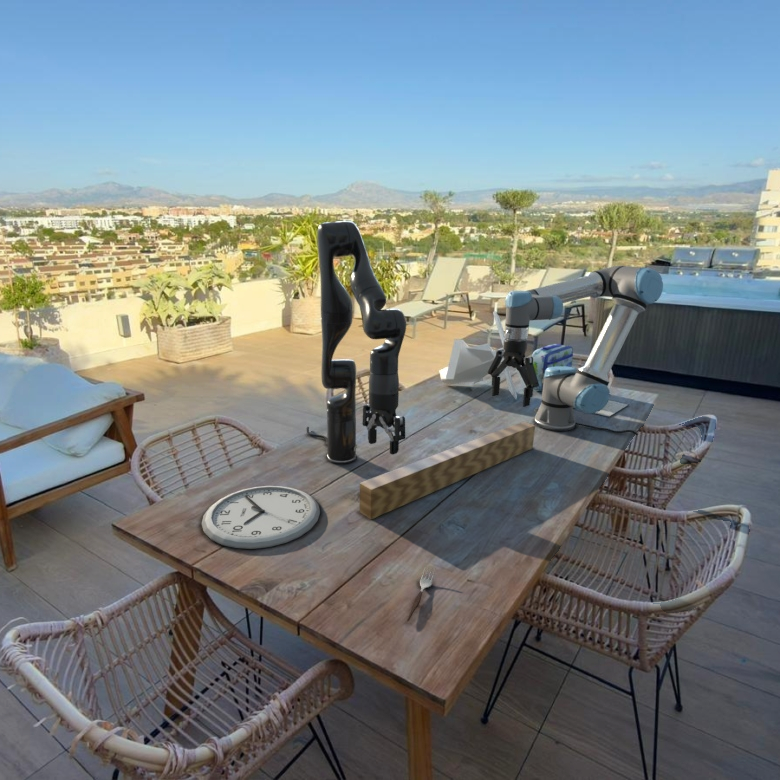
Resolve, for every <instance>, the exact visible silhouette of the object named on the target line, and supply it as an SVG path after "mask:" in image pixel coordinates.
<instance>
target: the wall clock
mask: <svg viewBox="0 0 780 780" xmlns="http://www.w3.org/2000/svg"><path fill="white" fill-rule="evenodd" d="M320 514H321V510H320V504H319V503H318V502H317V500H316V499H315V498H314V497H313V496H311V495H310V494H308V493H306V492H305V491H303V490H300V489H296V488H294V487H289V486H283V485H282V486H281V485H263V486H254V487H249V488H243V489H240V490H238V491H234V492H232V493H229V494H228V495H226V496H223V497H222V498H220V499H219V500H217V501H216V502H214V503H213V504H212V505H210V506H209V508H208V509H207V510H206V511H205V513H204V514H203V516H202V520H201V527H202V530H203V533H204V534H205V536H207V537H208V538H209V539H210V540H211V541H212V542H215V543H217V544H219V545H221V546H225V547H229V548H235V549H249V550H250V549H251V550H252V549H253V550H254V549H264V548H272V547H275V546H279V545H284V544H286V543H289V542H291V541H293V540H296V539H298V538H300V537H302V536H303V535H304V534H306V533H307V532H310V531H311V530H312V529H313V527H314V526H315V525H316V524H317V523H318V520H319V518H320Z"/></svg>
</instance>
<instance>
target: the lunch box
mask: <svg viewBox="0 0 780 780" xmlns="http://www.w3.org/2000/svg"><path fill="white" fill-rule="evenodd" d="M531 357H533V365H534V369H535V372H536V376H537V379H538V383H539V386H538V387H534V388H533V391H539V392H542V391H543V380H544V374H545V370H546V369H547V368H549V367H556V366H566V367H573V358H574V349H573V346H571V345H565V344H558V343H553V344H548V345H546V346H542V347H540V348H537V349H535V350H534V351H533V352H532V354H531Z"/></svg>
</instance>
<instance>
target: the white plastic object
mask: <svg viewBox="0 0 780 780" xmlns="http://www.w3.org/2000/svg"><path fill="white" fill-rule="evenodd" d="M492 315H493V319H494V321H495V324H496V325H495V326H496V328H497V332H498V335H499V338H500V342H501V345H502V346H503V345H504V340H505V339H506V338H505V337H504V335H505V330H504V328H503V325H502V321H501V318H500V315H499V314H498V312H497V311H496V310H495V311H492ZM502 349H503V347H500V348H498V349H496V350H495V349H493V348H492V347H491V346H490V344H489V343H488V342H487V343H483V344H479V345H473V346H469V345H468V343H466V342H465V340H464V339H463V338H460V339H458V338H454V340H453V344H452V349H451V353H450V357H449V362H448V366H446V367H444V368H442V369H440V370H439V371H438V372H439V376H440V381H442V383H443V384H444V385H445V386H449V385H458V384H467V383H468V384H469V383H473V384H477V383H480V382H482V381H484V378H485V377H486V376H487V375H489V374H488V370H489V368H490V366H491V364H492V362H493V360H494V358H495V357H496V351H497V350H502ZM503 350H504V349H503ZM503 360H504V356H503V358H502V360H501V362H502V361H503ZM501 362H500V364H501ZM500 364H499V366H500ZM499 366H498V367H499ZM520 367H521V366H520ZM516 372H517V376H518V380H519V382H520V385H521V389H522V391H523V392H524V388H525V387H526V385H525V383H524V381H523V379H522V377H521V375H520V373H519V371H518V370H517V369H516ZM503 373H504V376H505V380H506V383H507V386H508V390H509V393H510V394H511V395H512V397H513V398H514V399H515V400H517V392H516V391H517V390H516V388H515V385H514V381H513V378H512V375H511V371H510V369H509V366H507V367H506V368H505V369H504V370H503Z"/></svg>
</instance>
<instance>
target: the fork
mask: <svg viewBox="0 0 780 780" xmlns="http://www.w3.org/2000/svg"><path fill="white" fill-rule="evenodd" d="M426 567H427V565H425V567H424V570H423V573H422V575H421V578H420V580H419V586H420V588H421V589H420V590H419V592H418V594H417V595H416V596H415V598H414V599H413V602H412V604H411V608H410V611H409V614H408V617H407V620H406V621H407V622H409V621H410V619H411V618H412V616H413V614H414V613H415V612H416V610H417V608H418V606H419V604H420V603H421V598H422V595H423V593H424V590H425V589H429V588H430V587H431V586H432V584H433V581H434V577H435V571H436V568H434V570H433V567H431V568H430V566H428V567H427V570H426ZM429 568H430V569H429ZM429 570H430V571H429ZM432 571H433V573H432ZM425 572H426V573H425ZM428 574H429V575H428Z"/></svg>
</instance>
